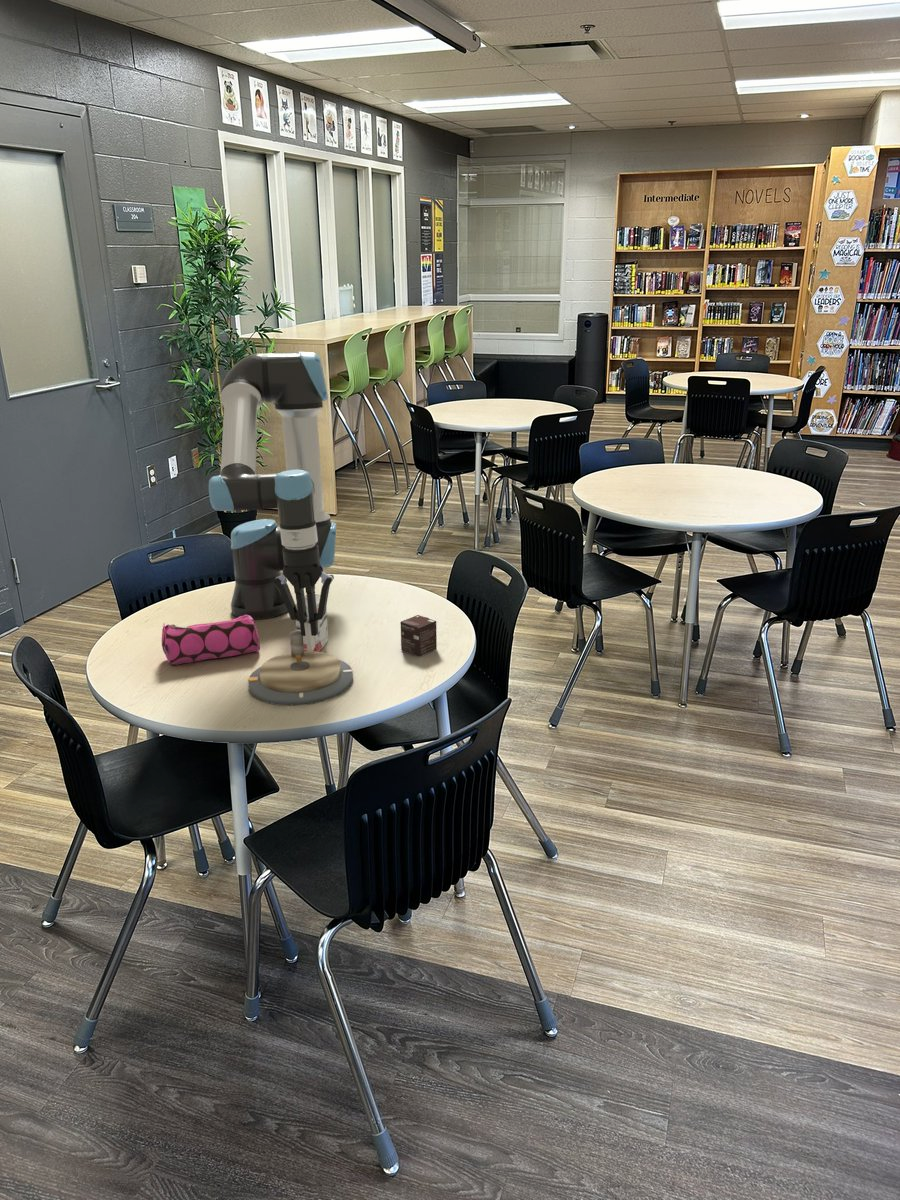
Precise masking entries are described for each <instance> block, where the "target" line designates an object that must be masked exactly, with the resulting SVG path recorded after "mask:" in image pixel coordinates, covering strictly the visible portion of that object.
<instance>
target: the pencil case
mask: <svg viewBox="0 0 900 1200" xmlns="http://www.w3.org/2000/svg"><path fill="white" fill-rule="evenodd" d="M161 629H162V630H161V631H162V633H161V647H162V651H163V654H164V655H165V657H166V659H167V661H168V663H169V664H170V665H181V664H186V663H195V662H200V661H205V660H209V659H210V660H212V659H221V658H227V657H228V658H229V657H235V656H240V655H241V656H242V655H245V654H248V653H254V652H258V651H260V650H261V647H260V639H259V638H260V637H259V631H258V629H257V627H256V621H255V619H253V618H252V617H251V616H248V615H244V616H240V617H236V618H234V619H229V620H223V621H217V622H210V623H209V622H207V623H198V624H193V625H188V626H183V625H176V624H166V622H163V623H162V628H161Z"/></svg>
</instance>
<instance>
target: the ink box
mask: <svg viewBox="0 0 900 1200" xmlns="http://www.w3.org/2000/svg"><path fill="white" fill-rule="evenodd" d="M320 595H321V594H316V593H315V597H316V608H317V613H318V607H319V601H320ZM305 603H306V611H307V615H308V617H307V619H309V614H308V603H307V594H305ZM295 605H296V607H297V603H295ZM327 608H328V607H327V606H326V611H325V615H324V617H323V618H322V619H321V620H317V625H318V633H317V635H316V636H314V638H315V648H314V650H313V651H316V652H321V650H322V648H324V646H325V645H326V644H327V643H328V642H329V636H328V635H329V633H328V632H329V631H328V615H327V614H328V613H327V612H328V611H327V610H328V609H327ZM297 610H298V609H297ZM295 631H301V628H300V622H299V621H297V620H295ZM303 644H304V651H307V643H306V636H303Z"/></svg>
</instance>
